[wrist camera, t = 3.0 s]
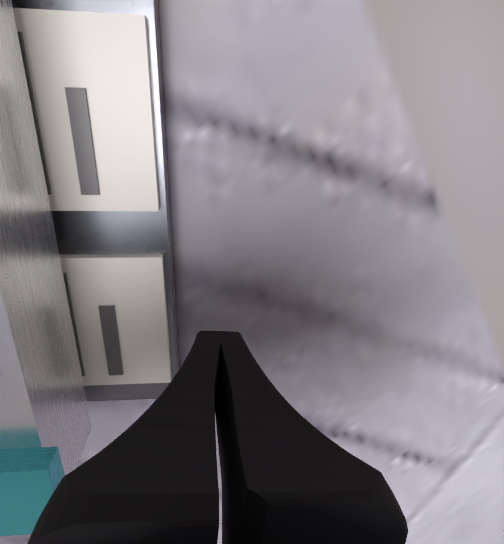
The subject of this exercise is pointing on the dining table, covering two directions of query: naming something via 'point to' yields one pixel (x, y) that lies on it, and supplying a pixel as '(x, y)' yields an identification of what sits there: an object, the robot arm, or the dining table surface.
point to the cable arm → (31, 316)
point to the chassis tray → (126, 224)
